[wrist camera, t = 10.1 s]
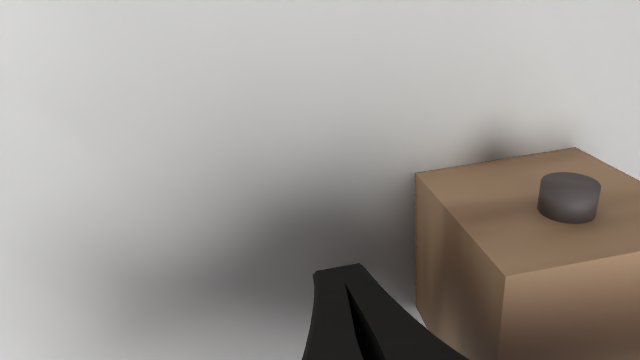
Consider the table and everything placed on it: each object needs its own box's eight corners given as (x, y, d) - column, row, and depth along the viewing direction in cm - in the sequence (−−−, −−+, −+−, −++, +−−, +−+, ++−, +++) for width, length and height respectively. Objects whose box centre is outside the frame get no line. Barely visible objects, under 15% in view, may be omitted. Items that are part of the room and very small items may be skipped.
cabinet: (552, 278, 16) (676, 401, 11) (415, 304, 15) (488, 444, 11) (576, 124, 13) (749, 202, 9) (414, 149, 13) (508, 246, 8)
